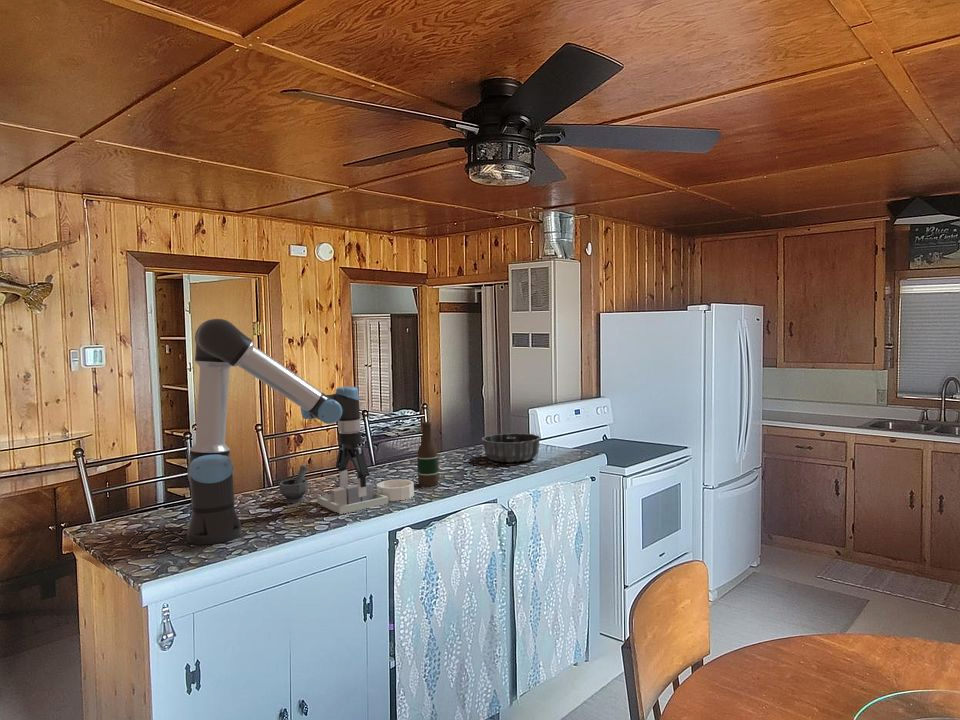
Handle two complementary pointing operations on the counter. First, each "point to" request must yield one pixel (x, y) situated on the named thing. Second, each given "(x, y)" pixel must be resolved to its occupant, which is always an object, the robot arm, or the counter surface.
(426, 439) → the beer bottle
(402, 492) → the bowl
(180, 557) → the counter surface
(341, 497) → the taupe block
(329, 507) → the square frame
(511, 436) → the bundt pan
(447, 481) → the counter surface
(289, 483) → the mortar and pestle
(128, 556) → the counter surface
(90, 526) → the counter surface
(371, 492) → the light grey cuboid
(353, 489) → the grey rectangular block
